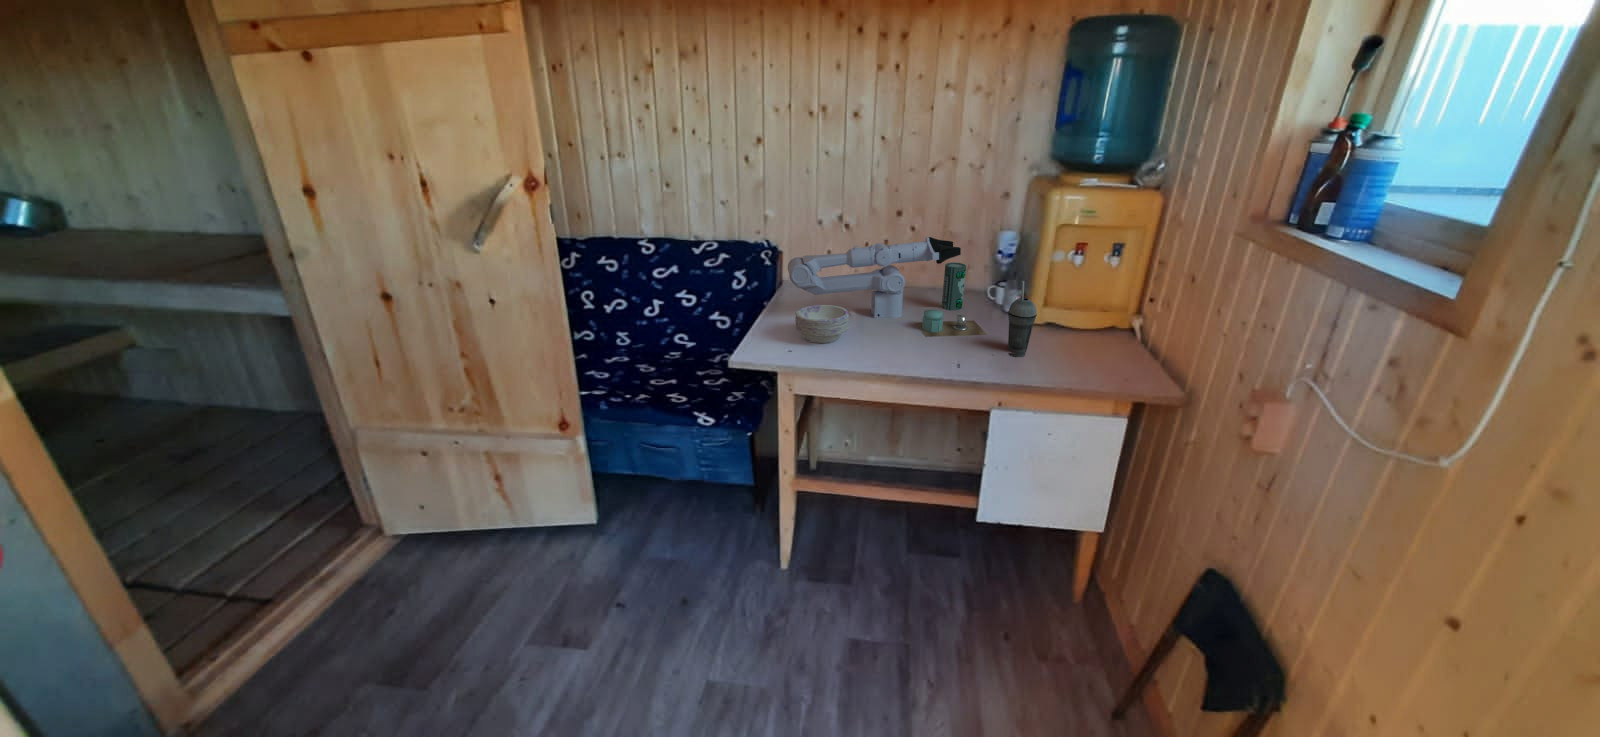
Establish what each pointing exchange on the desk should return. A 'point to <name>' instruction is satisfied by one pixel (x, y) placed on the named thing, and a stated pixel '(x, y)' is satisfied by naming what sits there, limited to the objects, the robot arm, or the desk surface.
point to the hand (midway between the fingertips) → (956, 248)
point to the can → (953, 286)
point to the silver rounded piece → (961, 323)
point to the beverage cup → (1020, 325)
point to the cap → (932, 320)
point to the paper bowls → (822, 322)
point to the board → (950, 331)
